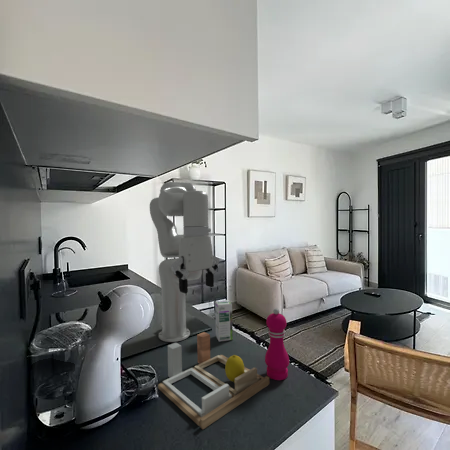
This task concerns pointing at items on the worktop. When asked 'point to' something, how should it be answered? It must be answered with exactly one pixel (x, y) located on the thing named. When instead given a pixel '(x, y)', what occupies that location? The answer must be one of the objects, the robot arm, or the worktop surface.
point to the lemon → (234, 367)
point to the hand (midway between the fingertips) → (197, 289)
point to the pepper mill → (276, 347)
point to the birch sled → (204, 361)
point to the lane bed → (223, 408)
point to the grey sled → (175, 374)
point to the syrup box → (223, 320)
